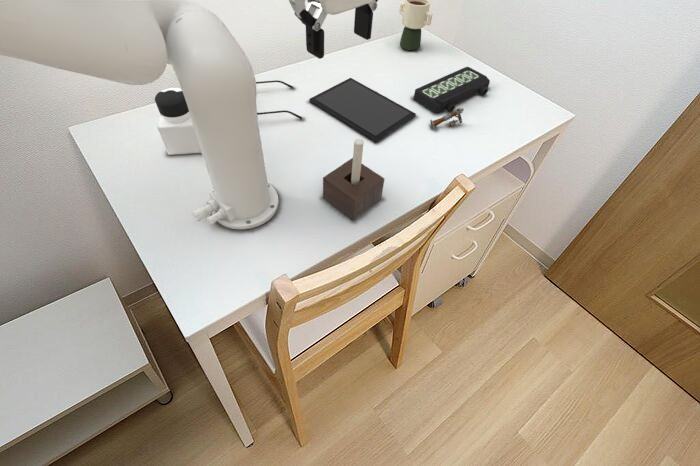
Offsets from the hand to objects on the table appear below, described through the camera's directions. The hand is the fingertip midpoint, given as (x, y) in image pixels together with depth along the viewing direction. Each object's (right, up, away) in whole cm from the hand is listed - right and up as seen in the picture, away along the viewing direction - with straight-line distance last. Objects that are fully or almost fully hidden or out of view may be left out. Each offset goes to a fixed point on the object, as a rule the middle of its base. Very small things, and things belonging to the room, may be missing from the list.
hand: (339, 45), depth 58 cm
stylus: (+2, -22, +18) cm, 28 cm away
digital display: (+29, +8, +43) cm, 53 cm away
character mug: (+20, +28, +58) cm, 68 cm away
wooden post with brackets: (+25, -3, +34) cm, 42 cm away
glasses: (-19, +2, +35) cm, 40 cm away
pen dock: (+2, -22, +18) cm, 28 cm away
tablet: (+5, +2, +37) cm, 37 cm away
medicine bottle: (-34, -9, +25) cm, 43 cm away
